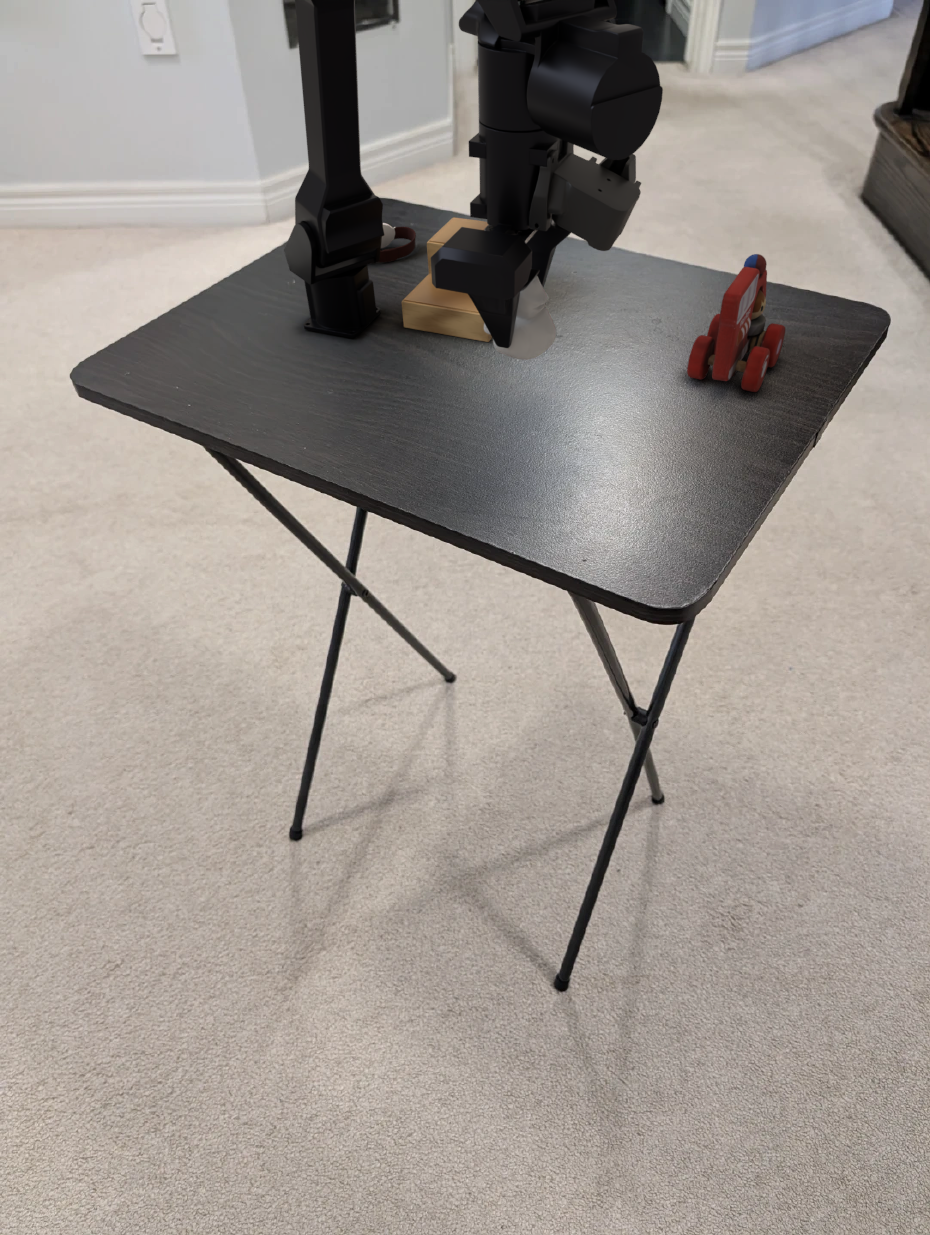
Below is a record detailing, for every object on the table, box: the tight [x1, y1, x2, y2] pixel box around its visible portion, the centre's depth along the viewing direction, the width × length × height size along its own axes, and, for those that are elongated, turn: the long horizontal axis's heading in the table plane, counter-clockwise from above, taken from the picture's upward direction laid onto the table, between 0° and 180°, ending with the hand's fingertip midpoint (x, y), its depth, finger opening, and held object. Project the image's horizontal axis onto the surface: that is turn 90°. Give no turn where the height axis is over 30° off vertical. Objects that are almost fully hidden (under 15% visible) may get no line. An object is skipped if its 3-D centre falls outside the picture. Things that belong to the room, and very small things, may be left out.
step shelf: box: [401, 217, 493, 343], centre depth 97 cm, size 10×14×7 cm
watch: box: [378, 222, 417, 263], centre depth 109 cm, size 8×5×4 cm, turn 115°
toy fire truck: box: [686, 253, 786, 393], centre depth 84 cm, size 7×12×10 cm, turn 151°
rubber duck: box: [484, 268, 557, 361], centre depth 70 cm, size 5×7×8 cm
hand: (516, 329), depth 72 cm, fingers closed on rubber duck, 5 cm apart
